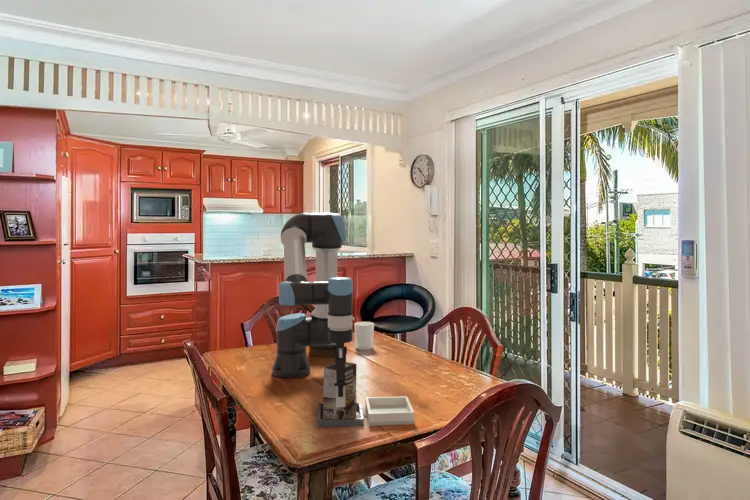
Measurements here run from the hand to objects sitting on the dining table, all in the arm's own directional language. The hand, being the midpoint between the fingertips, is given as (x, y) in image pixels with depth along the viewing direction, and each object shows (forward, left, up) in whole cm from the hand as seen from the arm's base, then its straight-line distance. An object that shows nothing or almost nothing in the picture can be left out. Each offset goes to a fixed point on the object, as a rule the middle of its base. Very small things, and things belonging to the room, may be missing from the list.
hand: (340, 399), depth 141 cm
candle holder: (+13, +85, -6) cm, 86 cm away
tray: (+15, 0, -5) cm, 16 cm away
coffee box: (0, 0, -6) cm, 6 cm away
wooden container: (-6, +77, -6) cm, 77 cm away
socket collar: (0, 0, -5) cm, 5 cm away
